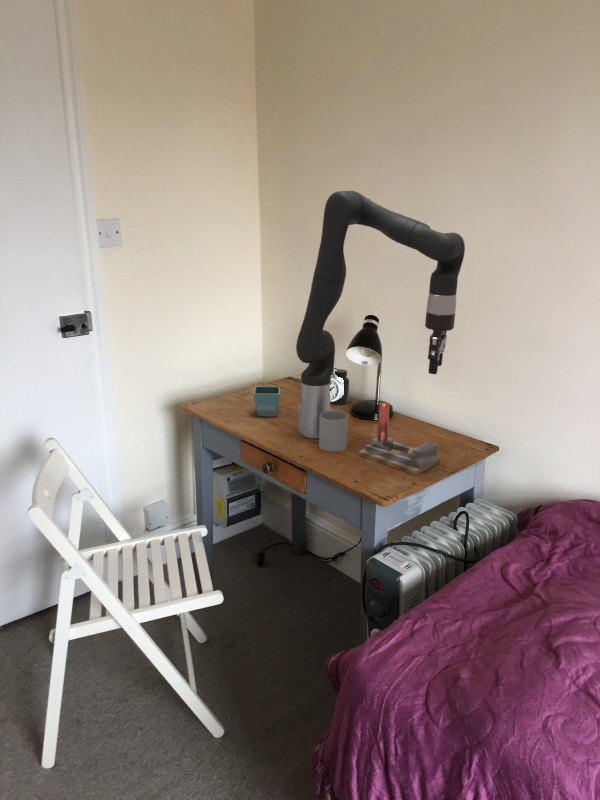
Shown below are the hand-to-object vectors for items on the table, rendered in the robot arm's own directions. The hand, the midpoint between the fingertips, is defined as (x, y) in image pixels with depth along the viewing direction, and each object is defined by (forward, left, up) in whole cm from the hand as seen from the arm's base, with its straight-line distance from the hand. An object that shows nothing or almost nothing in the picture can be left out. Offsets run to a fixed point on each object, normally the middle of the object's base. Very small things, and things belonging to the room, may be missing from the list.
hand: (435, 369), depth 177 cm
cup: (-28, -9, -28) cm, 41 cm away
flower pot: (-63, -3, -28) cm, 69 cm away
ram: (-14, -3, -27) cm, 30 cm away
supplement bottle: (-54, +25, -28) cm, 66 cm away
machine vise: (-8, -3, -28) cm, 29 cm away
